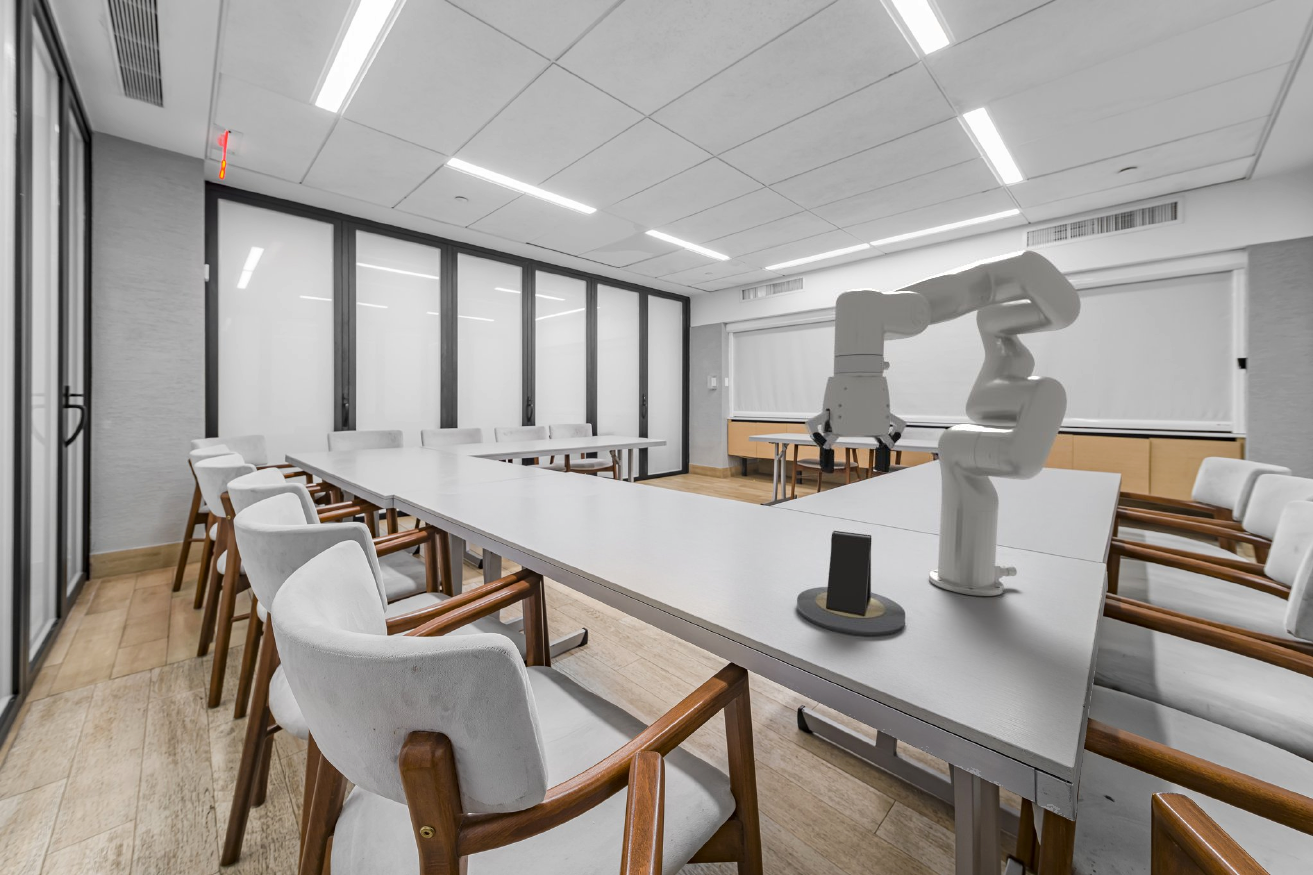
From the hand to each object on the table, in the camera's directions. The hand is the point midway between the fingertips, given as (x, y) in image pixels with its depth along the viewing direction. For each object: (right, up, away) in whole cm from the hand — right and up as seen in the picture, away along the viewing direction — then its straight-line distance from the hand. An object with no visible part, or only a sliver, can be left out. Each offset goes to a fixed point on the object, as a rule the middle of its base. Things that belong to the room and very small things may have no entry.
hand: (854, 472), depth 84 cm
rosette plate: (0, -24, +1) cm, 24 cm away
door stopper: (0, -23, +1) cm, 23 cm away
